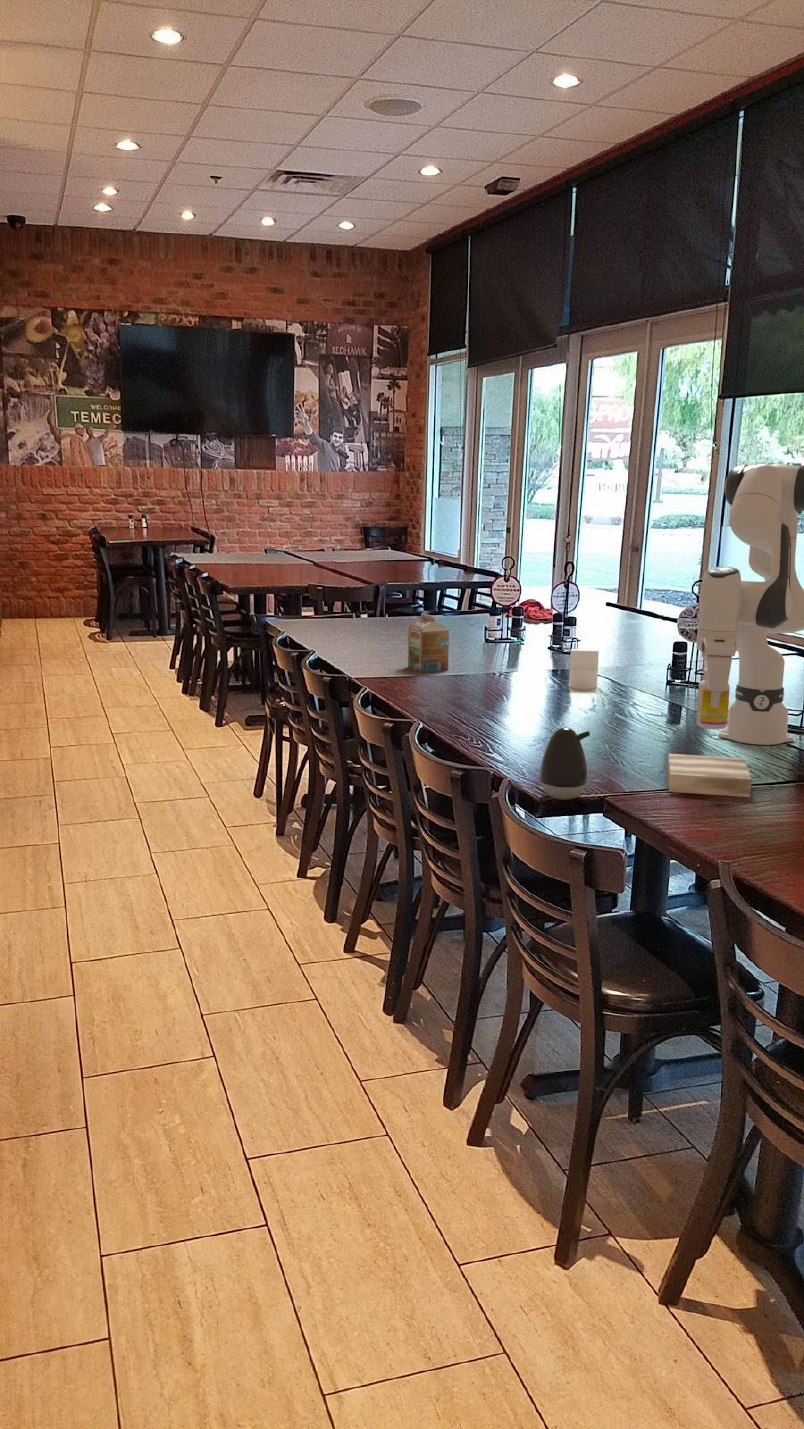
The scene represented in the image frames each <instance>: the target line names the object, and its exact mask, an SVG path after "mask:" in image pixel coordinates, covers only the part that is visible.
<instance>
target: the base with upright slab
mask: <svg viewBox="0 0 804 1429" xmlns="http://www.w3.org/2000/svg"><path fill="white" fill-rule="evenodd" d="M599 652H600V650H599V649H587V648H585V649H584V648H583V649H582V648H580V649H579V648H576V649H575V648H570V655H569V656H570V659H569V676H568V677H569V678H568V686H569V688H572V689H577V690H594V689H598V676H599V675H598V672H599V655H600V654H599Z"/></svg>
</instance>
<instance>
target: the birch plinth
mask: <svg viewBox="0 0 804 1429" xmlns="http://www.w3.org/2000/svg"><path fill="white" fill-rule="evenodd" d="M667 758H668V759H667V768H666V769H667V780H668V790H669V792H670V793H680V794H681V793H685V794H698V795H699V794H700V795H713V796H715V795H716V796H729V797H743V798H744V797H745V798H751V790H752V780H753V779H752V777H751V774H750V771H749V768H748V765H747V762H746V760H745V758H744V757H729V756H713V755H711V756H710V755H697V754H695V755H694V754H681V753H680V754H679V753H668V754H667Z"/></svg>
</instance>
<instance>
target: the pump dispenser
mask: <svg viewBox="0 0 804 1429" xmlns="http://www.w3.org/2000/svg"><path fill="white" fill-rule="evenodd" d="M590 735H591V733H590V731H588V730H586V731H583V732H581V733H578V734H577V733H576V731H575V730H573V729H572V728H570V727H561V728H558V729H557V730H555V731H554V732H553V734H552V735H551V737H550V739H549V741H548V743H547V745H546V747H545V750H544V753H543V757H542V760H541V764H540V765H541V766H540V772H539V780H540V783H541V787H542V789H543V791H544V792H545V794H546V795H548V796H549V797H550V798H552V799H555V798H556V800H559V801H560V800H561V801H562V800H563V801H565V800H566V801H569V800H572V799H576V798H577V797H579V796H580V795H581V794H582V792H584V790H585V787H586V784H587V783H588V775H589V774H588V764H587V759H586V754H585V751H584V747H583V744H582V743H581V741H582V740H584V739H586V738H588V737H589V736H590Z"/></svg>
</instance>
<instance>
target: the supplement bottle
mask: <svg viewBox="0 0 804 1429" xmlns="http://www.w3.org/2000/svg"><path fill="white" fill-rule="evenodd" d="M703 676H704V679H703V680H701V681H700V682H699V683H698V692H697V706H696V707H697V708H696V725H697V726H698V727H699V728H701V729H706V730H721V729H723V728H725V727H726V726H727V720H728V709H729V704H730V702H729V701H730V689H731V687H730V684H729V682H728V685H727V689H726V691H721V696H720V700H719V707H718V708H711V706H710V700H711V691H710V690H709V687H708V684H707V669H705V670H704V669H703Z"/></svg>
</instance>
